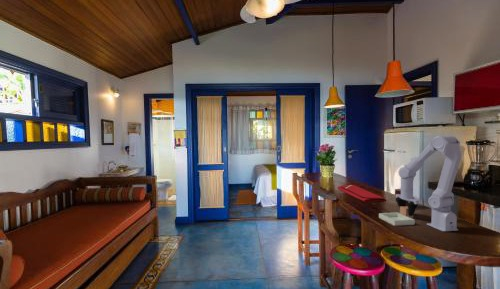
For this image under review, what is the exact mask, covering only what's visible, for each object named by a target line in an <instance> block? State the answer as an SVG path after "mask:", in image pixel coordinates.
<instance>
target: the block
mask: <svg viewBox="0 0 500 289" xmlns="http://www.w3.org/2000/svg"><path fill="white" fill-rule="evenodd" d="M399 213H400V214H402V215H405V216H407V217H410V218H412V219H414V215H413V216H409V211H408V206H402V207H400V210H399Z"/></svg>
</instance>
